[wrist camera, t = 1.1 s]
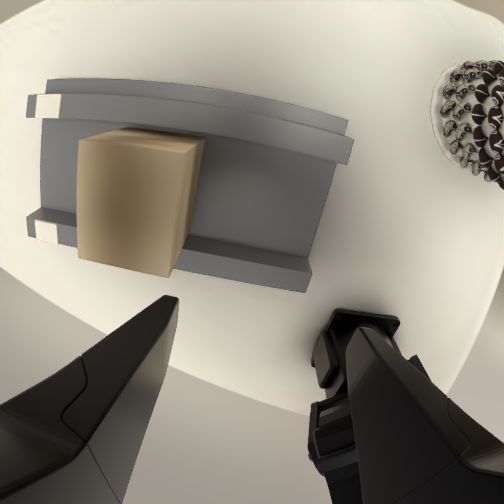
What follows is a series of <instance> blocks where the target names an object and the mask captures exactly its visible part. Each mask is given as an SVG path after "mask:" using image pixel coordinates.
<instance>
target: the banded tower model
mask: <svg viewBox="0 0 504 504" xmlns="http://www.w3.org/2000/svg"><path fill="white" fill-rule="evenodd" d="M430 114H431V119H432V125H433V130H434V135H435V137H436V139H437V141H438V143H439V145H440V147H441V149H442V151H443V153H444V154H445V155H446V156H447V157H448V158H449V159H450V160H451V161H452V162H453V163H454V164H455V165H456V166H458V167H460V168H463V169H467V170H470V171H472V174H473V175H475V176H477V175H478V174H479V173H480V171H484V173H485V175H484V179H485V181H487V182H491V181H494V182H497V183H498V184H499V186H500V187H501V188H502V189H504V62H502V61H495V60H494V61H490V62H486V61H478V62H476V63H473V62H469V61H468V62H465V63H464V64H454V65H453V66H451V67H450V68H448V69H447V70H446V71H444V72H443V73H442V74H441V75H440V77H439V79H438V81H437V83H436V85H435V87H434V89H433V93H432V102H431V110H430Z"/></svg>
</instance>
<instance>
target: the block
mask: <svg viewBox="0 0 504 504" xmlns="http://www.w3.org/2000/svg"><path fill="white" fill-rule="evenodd" d="M205 139H206V138H205V137H199V136H193V135H187V134H180V133H173V132H166V131H159V130H151V129H142V128H133V127H125V128H121V129H117V130H114V131H110V132H106V133H103V134H99V135H96V136H92V137H89V138H85V139H82V140H79V147H78V163H77V242H78V258H81V259H85V260H89V261H94V262H98V263H102V264H107V265H111V266H115V267H120V268H124V269H129V270H133V271H138V272H143V273H147V274H152V275H157V276H161V277H166V278H169V276H170V274H171V272H172V269H173V267H174V265H175V262H176V260H177V258H178V256H179V254H180V251H181V249H182V247H183V245H184V243H185V240H186V238H187V236H188V234H189V232H190V230H191V223H192V217H193V210H194V203H195V197H196V191H197V184H198V178H199V172H200V166H201V161H202V155H203V150H204V144H205Z"/></svg>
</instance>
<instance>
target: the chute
mask: <svg viewBox="0 0 504 504" xmlns="http://www.w3.org/2000/svg"><path fill="white" fill-rule="evenodd" d="M26 118H43V121H42V135H41V159H40V190H41V208H39V209H38V210H36V211H35V212H33V213H32V214H30V215H29V216H27V217H26V219H27V230H28V236H29V237H33V238H36V240H39V241H44V242H48V243H52V244H56V245H58V244H63V245H67V246H71V247H76V248H78V242H77V163H78V147H79V140H82V139H85V138H89V137H92V136H96V135H99V134H103V133H106V132H110V131H114V130H117V129H121V128H125V127H133V128H142V129H151V130H159V131H166V132H173V133H180V134H187V135H193V136H199V137H205V138H206V139H205V144H204V150H203V155H202V161H201V166H200V172H199V178H198V184H197V191H196V197H195V203H194V210H193V217H192V223H191V230H190V232H189V234H188V236H187V238H186V240H185V243H184V245H183V247H182V249H181V251H180V254H179V256H178V258H177V260H176V262H175V265H174V267H173V269H178V270H183V271H188V272H193V273H198V274H203V275H209V276H214V277H219V278H224V279H229V280H235V281H240V282H246V283H251V284H257V285H262V286H268V287H273V288H279V289H285V290H290V291H296V292H302V293H306V290H307V287H308V284H309V281H310V279H311V276H312V271H311V268H310V265H309V261H308V256H309V253H310V249H311V246H312V243H313V240H314V237H315V234H316V231H317V228H318V224H319V221H320V218H321V215H322V211H323V208H324V205H325V202H326V198H327V195H328V192H329V188H330V185H331V181H332V178H333V174H334V171H335V168H336V164H337V162H338V163H341V164H345V165H347V164H348V160H349V157H350V153H351V150H352V146H353V142H354V139H351V138H349V137H346V136H344V135H345V131H346V128H347V124H348V120H346V119H343V118H339V117H336V116H333V115H329V114H326V113H323V112H319V111H315V110H312V109H308V108H304V107H300V106H297V105H293V104H288V103H284V102H280V101H276V100H271V99H267V98H262V97H257V96H252V95H247V94H242V93H237V92H231V91H225V90H219V89H213V88H206V87H199V86H192V85H184V84H175V83H166V82H155V81H142V80H125V79H52V80H47V85H46V93H45V94H34V95H28V102H27V112H26Z"/></svg>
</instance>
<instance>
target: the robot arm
mask: <svg viewBox="0 0 504 504" xmlns="http://www.w3.org/2000/svg"><path fill="white" fill-rule="evenodd" d="M178 309H179V299H178V298H177V297H173V296H168V295H164V296H162V297H161V298H159V299H158V300H157V301H155V302H154V303H152V304H151V305H150V306H148V307H147V308H145V309H144V310H142V311H141V312H140V313H138V314H137V315H136V316H134V317H133V318H131V319H130V320H129V321H127V322H126V323H124V324H123V325H122V326H120V327H119V328H117V329H116V330H115V331H113V332H112V333H110V334H109V335H108V336H106V337H105V338H104V339H102V340H101V341H99V342H98V343H97V344H95V345H94V346H93V347H91V348H90V349H88V350H87V351H86V352H84V353H83V354H82V355H81V356H79V357H77V358H76V359H75V360H73V361H72V362H70V363H69V364H68V365H66V366H65V367H63V368H62V369H60V370H59V371H57V372H56V373H55V374H53V375H51V376H50V377H48V378H46V379H45V380H43V381H42V382H40V383H38V384H36V385H34V386H33V387H31V388H29V389H27V390H25V391H24V392H22V393H21V394H18V395H17V396H15V397H13V398H11V399H9V400H8V401H6V402H4V403H2V404H0V504H122V502H123V499H124V496H125V493H126V490H127V487H128V483H129V480H130V477H131V474H132V471H133V468H134V465H135V462H136V459H137V456H138V453H139V449H140V447H141V444H142V441H143V438H144V435H145V432H146V429H147V426H148V423H149V420H150V418H151V415H152V412H153V409H154V406H155V403H156V400H157V397H158V395H159V392H160V389H161V386H162V384H163V381H164V378H165V375H166V371H167V367H168V363H169V358H170V353H171V349H172V345H173V340H174V336H175V332H176V327H177V320H178ZM338 315H340V316H339V317H337V316H338ZM395 322H396V323H395ZM393 323H394V324H393ZM399 325H400V321H399V319H398V318H397V317H391V316H383V315H376V314H369V313H361V312H354V311H347V310H341V309H338V310H335V311H334V312H333V314H332V316H331V318H330V320H329V323H328V325H327V327H326V329H325V330H324V331H323V332H322V333H321V335H320V338H319V340H318V342H317V344H316V346H315V348H314V350H313V357H312V359H311V365H312V367H315V368H316V373H317V378H318V384H319V386H320V388H322V389H325V392H326V397H327V399H325V400H323V401H320V402H318V401H317V402H315V403H312V404H311V413H310V423H309V436H308V451H309V454H308V455H309V459H310V460H311V461H312V462H314V465H315V467H316V469H317V470H318V471H319V473H320V474H321V475H322V476H324V477H325V478H326V481H327V484H328V488H329V492H330V496H331V500H332V504H504V443H503V442H501V441H500V440H499V439H498V438H496V437H495V436H494V435H493V434H491V433H490V432H489V431H487V430H486V429H485V428H484V427H482V426H481V425H480V424H478V423H477V422H476V421H475V420H474V419H472V418H471V417H470V416H469V415H468V414H466V413H465V412H464V411H463V410H462V409H461V408H460V407H458V406H457V405H456V404H455V403H454V402H453V401H452V400H451V399H450V398H447V396H446V395H445V394H444V393H443V392H442V391H441V390H440V389H439V388H438V387H436V386H435V385H434V384H433V383H432V382H431V380H430V378H429V376H428V374H427V372H426V371H425V369H424V367H423V365H422V364H421V362H420V360H419V358H418V356H417V355H414V356H412V357H411V358H410V359H409V360H406V359H405V358H404V357H403V356H402V354H401V352H400V350H399V348H398V346H397V344H396V342H395V340H394V338H393V336H394V334H395V332H396V331H397V329H398V327H399Z"/></svg>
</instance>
